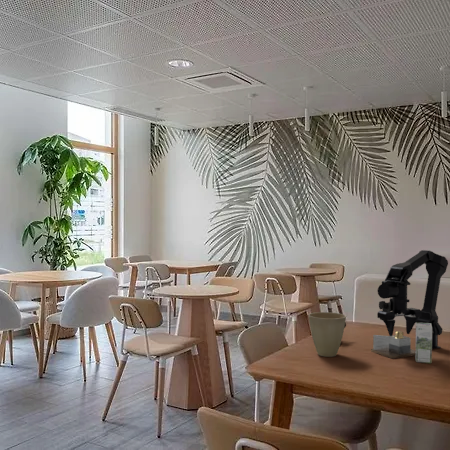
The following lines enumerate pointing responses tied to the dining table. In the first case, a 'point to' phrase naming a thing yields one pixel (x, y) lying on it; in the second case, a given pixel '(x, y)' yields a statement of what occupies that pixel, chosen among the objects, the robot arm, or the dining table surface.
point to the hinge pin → (399, 334)
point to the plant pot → (327, 332)
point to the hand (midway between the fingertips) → (399, 334)
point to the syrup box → (423, 342)
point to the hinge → (392, 346)
